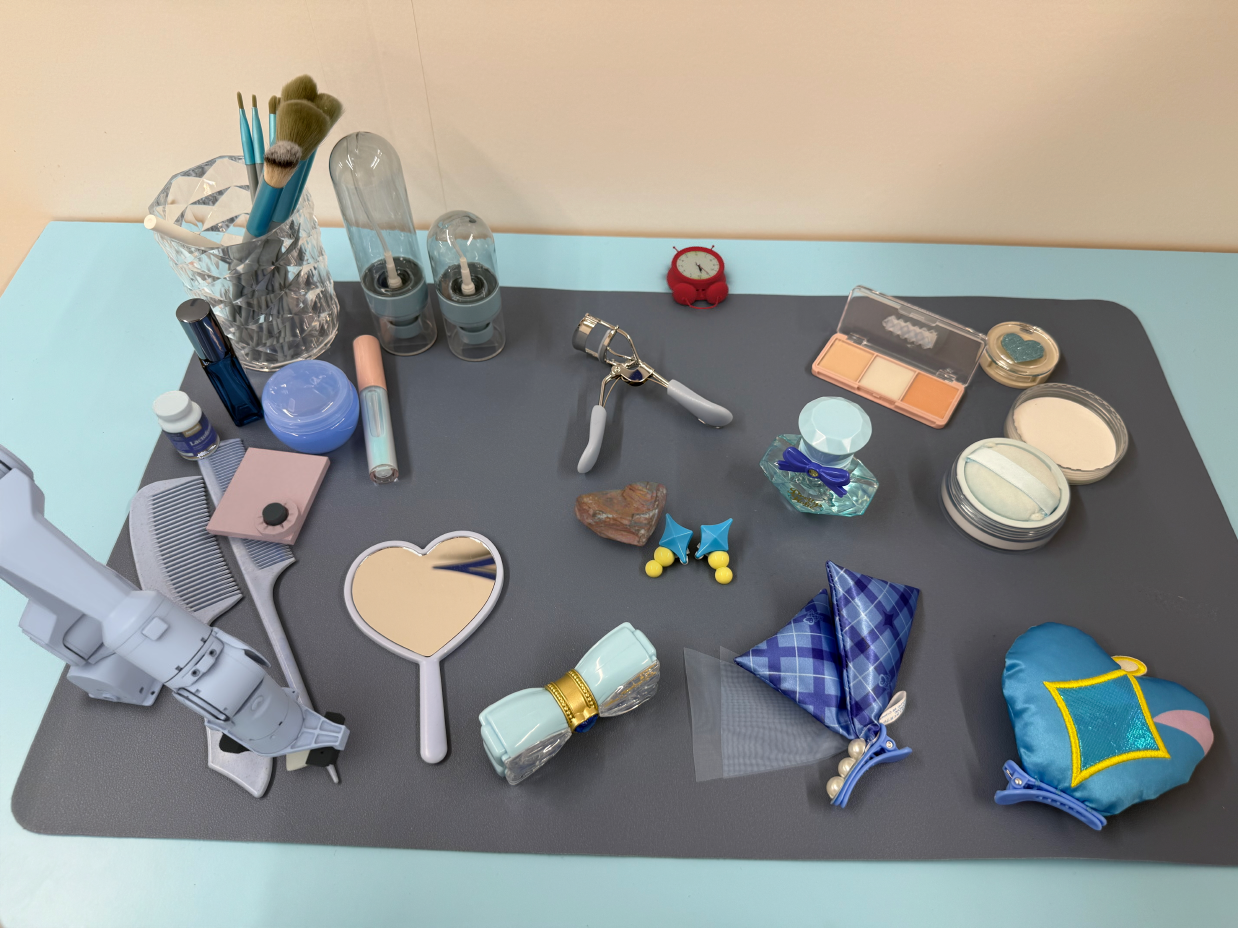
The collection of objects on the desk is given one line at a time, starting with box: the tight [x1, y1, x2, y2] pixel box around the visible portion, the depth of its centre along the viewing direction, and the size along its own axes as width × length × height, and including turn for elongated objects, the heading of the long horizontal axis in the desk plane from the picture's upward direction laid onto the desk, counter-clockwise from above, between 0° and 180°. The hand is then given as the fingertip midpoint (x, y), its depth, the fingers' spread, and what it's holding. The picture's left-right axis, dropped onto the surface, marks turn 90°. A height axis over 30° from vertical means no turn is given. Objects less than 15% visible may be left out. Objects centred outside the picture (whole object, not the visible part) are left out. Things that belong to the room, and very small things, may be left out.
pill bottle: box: [152, 390, 220, 461], centre depth 110 cm, size 6×6×10 cm
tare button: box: [262, 502, 287, 526], centre depth 103 cm, size 3×3×2 cm
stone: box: [573, 480, 668, 547], centre depth 102 cm, size 13×8×10 cm
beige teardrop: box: [285, 750, 310, 772], centre depth 87 cm, size 4×5×2 cm
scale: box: [205, 446, 331, 546], centre depth 108 cm, size 14×12×3 cm
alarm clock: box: [666, 244, 729, 310], centre depth 134 cm, size 10×6×15 cm
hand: (303, 750), depth 87 cm, fingers open, 7 cm apart
